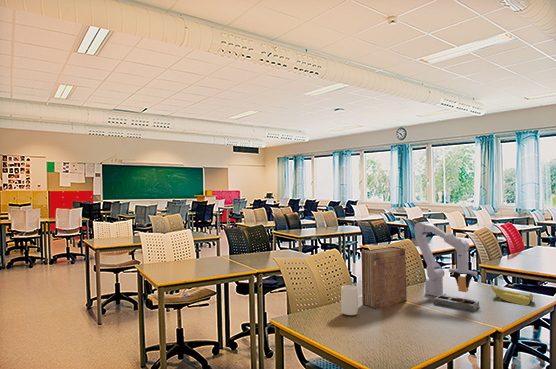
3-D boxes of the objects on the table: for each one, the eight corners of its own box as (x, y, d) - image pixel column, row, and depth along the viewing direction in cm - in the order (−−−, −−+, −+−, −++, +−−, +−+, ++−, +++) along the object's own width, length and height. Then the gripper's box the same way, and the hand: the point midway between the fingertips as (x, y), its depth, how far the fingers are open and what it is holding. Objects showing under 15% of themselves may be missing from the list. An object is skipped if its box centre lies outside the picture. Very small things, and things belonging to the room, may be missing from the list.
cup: (358, 318, 182) (357, 289, 182) (341, 317, 183) (340, 289, 184) (358, 312, 190) (357, 285, 190) (341, 311, 192) (341, 284, 192)
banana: (533, 296, 203) (530, 292, 196) (531, 310, 201) (528, 306, 194) (493, 288, 217) (489, 283, 210) (491, 300, 214) (487, 296, 208)
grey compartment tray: (434, 303, 201) (433, 298, 201) (440, 299, 208) (440, 294, 208) (473, 311, 187) (473, 305, 187) (479, 307, 194) (479, 301, 194)
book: (374, 309, 194) (372, 253, 195) (362, 305, 202) (360, 251, 203) (406, 301, 207) (405, 248, 208) (394, 297, 215) (392, 246, 216)
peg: (458, 291, 206) (458, 276, 207) (460, 289, 209) (460, 275, 209) (466, 292, 204) (465, 278, 204) (468, 290, 206) (467, 276, 207)
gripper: (446, 262, 209) (447, 285, 209) (474, 265, 199) (474, 290, 199) (451, 260, 214) (451, 283, 214) (478, 263, 204) (478, 287, 204)
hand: (463, 286), depth 206 cm, fingers closed on peg, 4 cm apart
